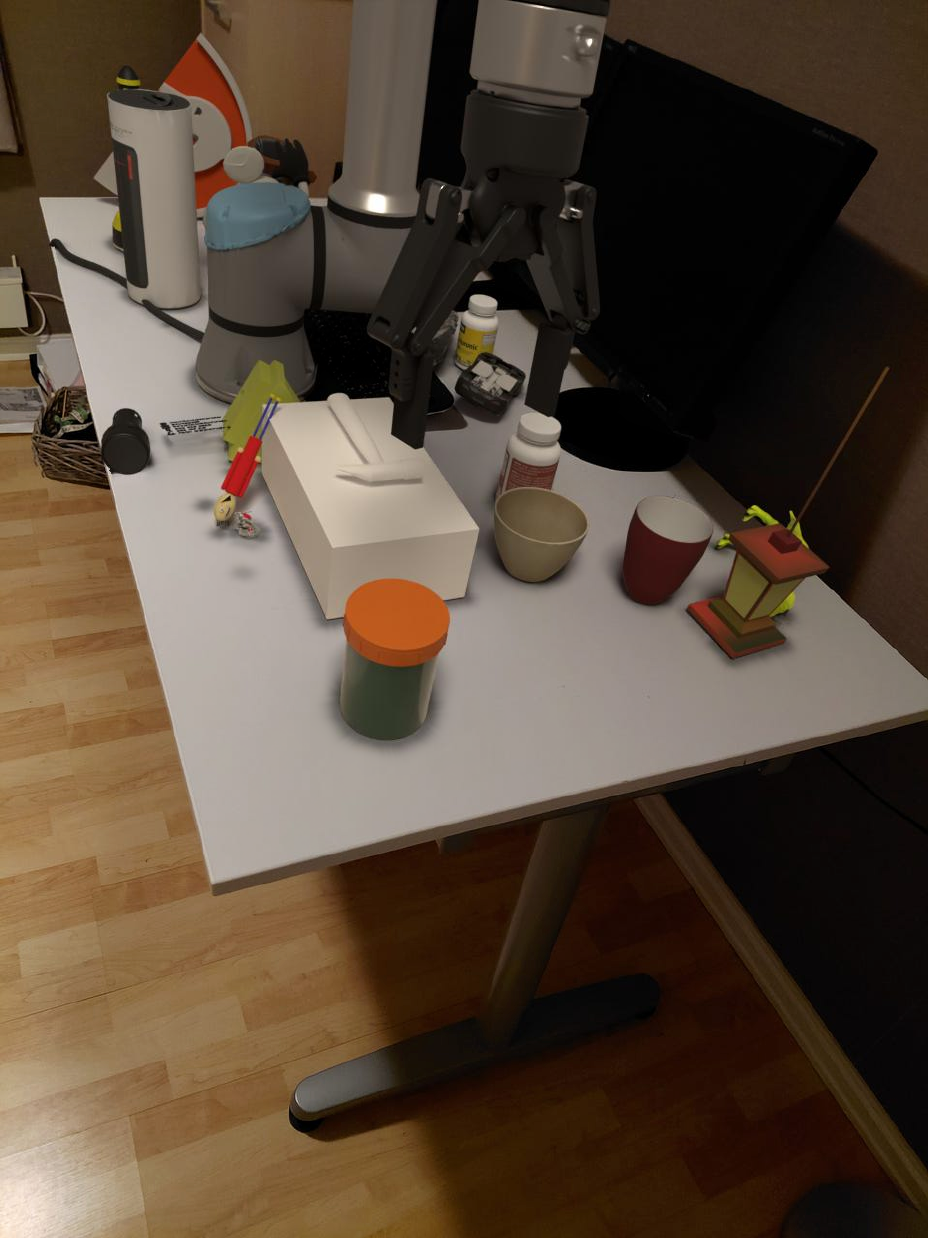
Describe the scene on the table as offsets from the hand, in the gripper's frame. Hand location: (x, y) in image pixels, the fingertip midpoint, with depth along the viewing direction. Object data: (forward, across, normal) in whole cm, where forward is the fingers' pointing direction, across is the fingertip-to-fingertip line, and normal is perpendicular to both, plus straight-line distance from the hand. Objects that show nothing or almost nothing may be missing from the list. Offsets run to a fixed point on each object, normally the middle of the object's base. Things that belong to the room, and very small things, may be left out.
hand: (477, 425), depth 63 cm
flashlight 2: (+19, -3, +48) cm, 52 cm away
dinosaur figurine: (+22, +45, -2) cm, 51 cm away
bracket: (+14, +3, +40) cm, 42 cm away
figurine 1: (+12, +4, +35) cm, 37 cm away
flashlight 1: (+13, +20, +99) cm, 102 cm away
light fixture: (+24, +32, -12) cm, 41 cm away
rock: (+12, +37, +52) cm, 65 cm away
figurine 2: (+22, -5, +26) cm, 35 cm away
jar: (+25, -6, 0) cm, 26 cm away
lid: (+14, -7, -2) cm, 16 cm away
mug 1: (+13, +43, +94) cm, 104 cm away
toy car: (+14, +40, +36) cm, 56 cm away
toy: (+5, +53, +80) cm, 96 cm away
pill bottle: (+22, +26, +16) cm, 37 cm away
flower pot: (+23, +19, +7) cm, 30 cm away
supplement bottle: (+17, +44, +45) cm, 66 cm away
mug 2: (+23, +28, -3) cm, 37 cm away
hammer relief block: (+22, +6, +21) cm, 31 cm away
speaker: (+16, +14, +81) cm, 84 cm away
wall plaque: (+12, +26, +114) cm, 118 cm away
